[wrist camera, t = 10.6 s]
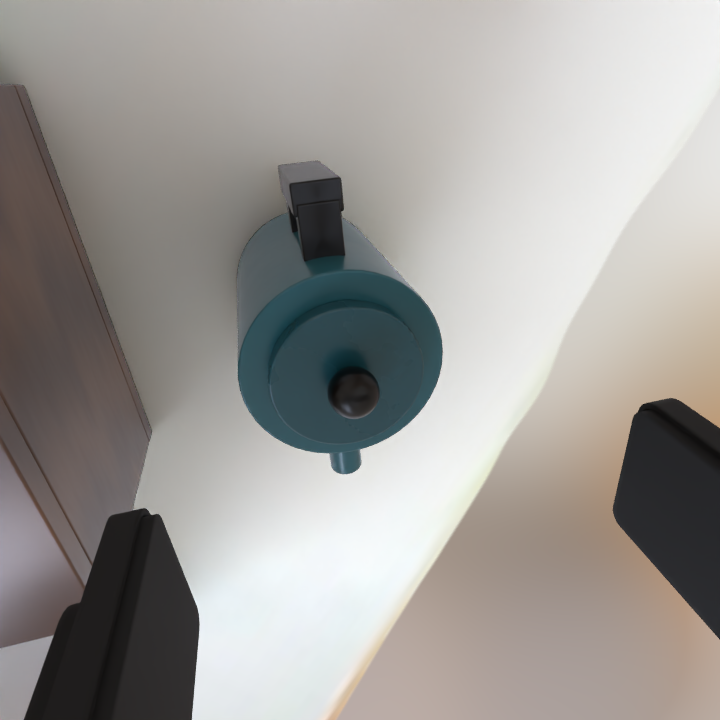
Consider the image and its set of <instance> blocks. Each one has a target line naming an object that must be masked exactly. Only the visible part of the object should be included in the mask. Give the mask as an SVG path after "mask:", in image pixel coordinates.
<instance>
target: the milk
mask: <svg viewBox="0 0 720 720" xmlns="http://www.w3.org/2000/svg"><path fill="white" fill-rule="evenodd" d="M53 636H54V635H53ZM53 636H49V637H45V638H41V639H37V640H32V641H28V642H24V643H20V644H16V645H12V646H8V647H4V648H0V720H24V717H25V715H26V712H27V709H28V706H29V703H30V700H31V698H32V695H33V692H34V689H35V686H36V684H37V681H38V678H39V675H40V672H41V670H42V667H43V664H44V661H45V658H46V656H47V653H48V650H49V647H50V644H51V642H52V639H53Z"/></svg>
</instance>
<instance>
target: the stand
mask: <svg viewBox="0 0 720 720" xmlns="http://www.w3.org/2000/svg"><path fill="white" fill-rule="evenodd" d="M151 434H152V430H151V428H150V425H149V422H148V420H147V417H146V414H145V412H144V409H143V406H142V403H141V401H140V398H139V395H138V393H137V390H136V387H135V384H134V382H133V379H132V376H131V374H130V371H129V368H128V366H127V363H126V360H125V357H124V355H123V352H122V349H121V347H120V344H119V341H118V339H117V336H116V333H115V330H114V328H113V325H112V322H111V320H110V317H109V314H108V312H107V309H106V306H105V303H104V301H103V298H102V295H101V293H100V290H99V287H98V285H97V282H96V279H95V276H94V274H93V271H92V268H91V266H90V263H89V260H88V257H87V255H86V252H85V249H84V247H83V244H82V241H81V239H80V236H79V233H78V230H77V228H76V225H75V222H74V220H73V217H72V214H71V212H70V209H69V206H68V203H67V201H66V198H65V195H64V193H63V190H62V187H61V185H60V182H59V179H58V176H57V174H56V171H55V168H54V166H53V163H52V160H51V157H50V155H49V152H48V149H47V147H46V144H45V141H44V139H43V136H42V133H41V130H40V128H39V125H38V122H37V120H36V117H35V114H34V112H33V109H32V106H31V103H30V101H29V98H28V95H27V93H26V90H25V87H24V86H23V85H11V84H0V648H4V647H8V646H12V645H16V644H20V643H24V642H28V641H32V640H37V639H41V638H45V637H49V636H53V635H54V633H55V630H56V627H57V625H58V622H59V620H60V618H61V616H62V614H63V612H64V611H65V610H66V609H67V607H68V606H70V605H73V604H76V603H80V602H81V599H82V595H83V592H84V589H85V586H86V583H87V580H88V577H89V574H90V571H91V568H92V565H93V562H94V559H95V556H96V553H97V550H98V546H99V543H100V540H101V537H102V534H103V531H104V528H105V525H106V522H107V520H108V518H109V517H110V516H111V515H114V514H119V513H124V512H128V511H132V509H133V505H134V501H135V497H136V493H137V489H138V485H139V481H140V477H141V473H142V469H143V465H144V461H145V457H146V453H147V449H148V445H149V441H150V438H151Z"/></svg>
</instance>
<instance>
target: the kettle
mask: <svg viewBox="0 0 720 720" xmlns="http://www.w3.org/2000/svg"><path fill="white" fill-rule="evenodd" d="M278 171H279V177H280V183H281V190H282V193H283V195H284V197H285V199H286V203H287V209H288V213H285V214H283V215H280V216H278V217H276V218H274V219H272V220H270V221H269V222H267V223H266V224H265V225H263V226H262V227H261V228H260V229H259V230H258V231H257V232H256V233H255V234H254V235H253V236H252V238H251V239H250V240H249V242H248V243H247V245H246V247H245V248H244V251H243V253H242V255H241V258H240V262H239V265H238V272H237V319H238V381H239V387H240V391H241V394H242V397H243V400H244V402H245V404H246V406H247V408H248V410H249V412H250V413H251V415H252V416H253V417H254V419H255V420H256V421H257V422H258V423H259V425H260V426H261V427H262V428H263V429H264V430H266V431H267V432H268V433H269V434H271V435H272V436H273V437H275V438H276V439H278V440H280V441H282V442H283V443H285V444H288V445H290V446H293V447H295V448H298V449H302V450H305V451H311V452H317V453H329V454H330V460H331V466H332V468H333V470H334V471H335V472H337V473H340V474H350V473H353V472H355V471H356V470H358V469H359V467H360V465H361V454H360V449H363V448H366V447H369V446H372V445H374V444H377V443H379V442H381V441H383V440H385V439H387V438H389V437H390V436H392V435H394V434H395V433H397V432H398V431H400V430H401V429H402V428H403V427H405V426H406V425H407V424H408V423H409V422H410V421H411V420H412V419H413V418H415V417H416V416H417V414H418V413H419V412H420V411H421V409H422V408H423V407H424V406H425V404H426V403H427V401H428V400H429V398H430V396H431V394H432V392H433V390H434V388H435V386H436V384H437V381H438V378H439V375H440V370H441V365H442V353H443V350H442V339H441V334H440V330H439V327H438V324H437V322H436V319H435V317H434V315H433V313H432V312H431V310H430V308H429V307H428V305H427V304H426V303H425V302H424V300H423V299H422V298H421V297H420V296H419V295H418V294H417V292H416V291H415V290H414V289H413V288H412V287H411V286H410V285H409V284H408V283H407V282H406V281H405V279H404V278H403V277H402V276H401V275H400V274H399V273H398V272H397V271H396V270H395V269H394V268H393V267H392V265H391V264H390V263H389V262H388V261H387V260H386V259H385V258H384V257H383V256H382V255H381V254H380V252H379V251H378V250H377V249H376V248H375V247H374V246H373V245H372V244H371V243H370V242H369V241H368V239H367V238H366V237H365V236H364V235H363V234H362V233H361V232H360V231H359V230H358V229H357V228H356V227H355V226H354V225H353V224H351V223H350V222H348V221H347V220H345V219H343V218H342V215H341V211H343V210H344V203H343V193H342V183H341V178H340V177H339V176H338V175H337V174H335V173H334V172H333V171H331V170H330V169H329V168H327V167H326V166H325V165H324V164H322V163H321V162H320V161H318V160H317V161H309V162H301V163H293V164H284V165H279V166H278Z"/></svg>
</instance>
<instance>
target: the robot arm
mask: <svg viewBox="0 0 720 720" xmlns="http://www.w3.org/2000/svg"><path fill="white" fill-rule="evenodd" d="M614 501H615V502H614V505H613V513H614V517H615V519H616V521H617V523H618V524H619V526H620V527H621V528H622V529H623V530H624V531H625V533H626V534H627V535H628V536H629V537H630V538H631V539H632V540H633V542H634V543H635V544H636V545H637V546H638V547H639V548H640V549H641V551H642V552H643V553H644V554H645V555H646V556H647V557H648V559H649V560H650V561H651V562H652V563H653V564H654V565H655V567H656V568H657V569H658V570H659V571H660V572H661V573H662V575H663V576H664V577H665V578H666V579H667V580H668V581H669V582H670V584H671V585H672V586H673V587H674V588H675V589H676V590H677V591H678V593H679V594H680V595H681V596H682V597H683V598H684V599H685V601H687V603H688V604H689V605H690V606H691V607H692V608H693V609H694V611H695V612H696V613H697V614H698V615H699V616H700V617H701V619H702V620H703V621H704V622H705V623H706V624H707V625H708V627H709V628H710V629H711V630H712V631H713V632H714V633H715V635H716V636H717V637H718V638H719V639H720V428H719V427H717V426H716V425H714V424H713V423H711V422H710V421H708V420H707V419H705V418H704V417H702V416H701V415H699V414H698V413H697V412H695V411H694V410H692V409H691V408H690V407H688V406H687V405H685V404H684V403H682V402H681V401H679V400H677V399H673V398H669V399H664V400H659V401H654V402H650V403H646V404H643V405H642V406H641V407H640V408H639V411H638V413H636V414H635V415H634V417H633V420H632V425H631V429H630V434H629V439H628V443H627V447H626V452H625V456H624V460H623V465H622V470H621V474H620V479H619V483H618V487H617V492H616V496H615V500H614ZM198 638H199V614H198V609H197V606H196V603H195V601H194V598H193V596H192V593H191V591H190V588H189V586H188V583H187V581H186V578H185V576H184V573H183V571H182V568H181V566H180V563H179V561H178V558H177V555H176V553H175V550H174V548H173V545H172V543H171V540H170V538H169V535H168V533H167V530H166V528H165V525H164V523H163V520H162V518H161V516H160V515H159V514H155V515H150V513H149V511H148V510H147V509H146V508H143V509H138V510H133V511H128V512H124V513H119V514H114V515H111V516H110V517H109V518H108V520H107V522H106V525H105V528H104V531H103V534H102V537H101V540H100V543H99V546H98V550H97V553H96V556H95V559H94V562H93V565H92V568H91V571H90V574H89V577H88V580H87V583H86V586H85V589H84V592H83V595H82V599H81V602H80V603H76V604H73V605H70V606H68V607H67V609H66V610H65V611H64V612H63V614H62V616H61V618H60V620H59V622H58V625H57V627H56V630H55V633H54V636H53V639H52V642H51V644H50V647H49V650H48V653H47V656H46V658H45V661H44V664H43V667H42V670H41V672H40V675H39V678H38V681H37V684H36V686H35V689H34V692H33V695H32V698H31V700H30V703H29V706H28V709H27V712H26V715H25V717H24V720H192V709H193V697H194V685H195V673H196V662H197V650H198Z"/></svg>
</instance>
